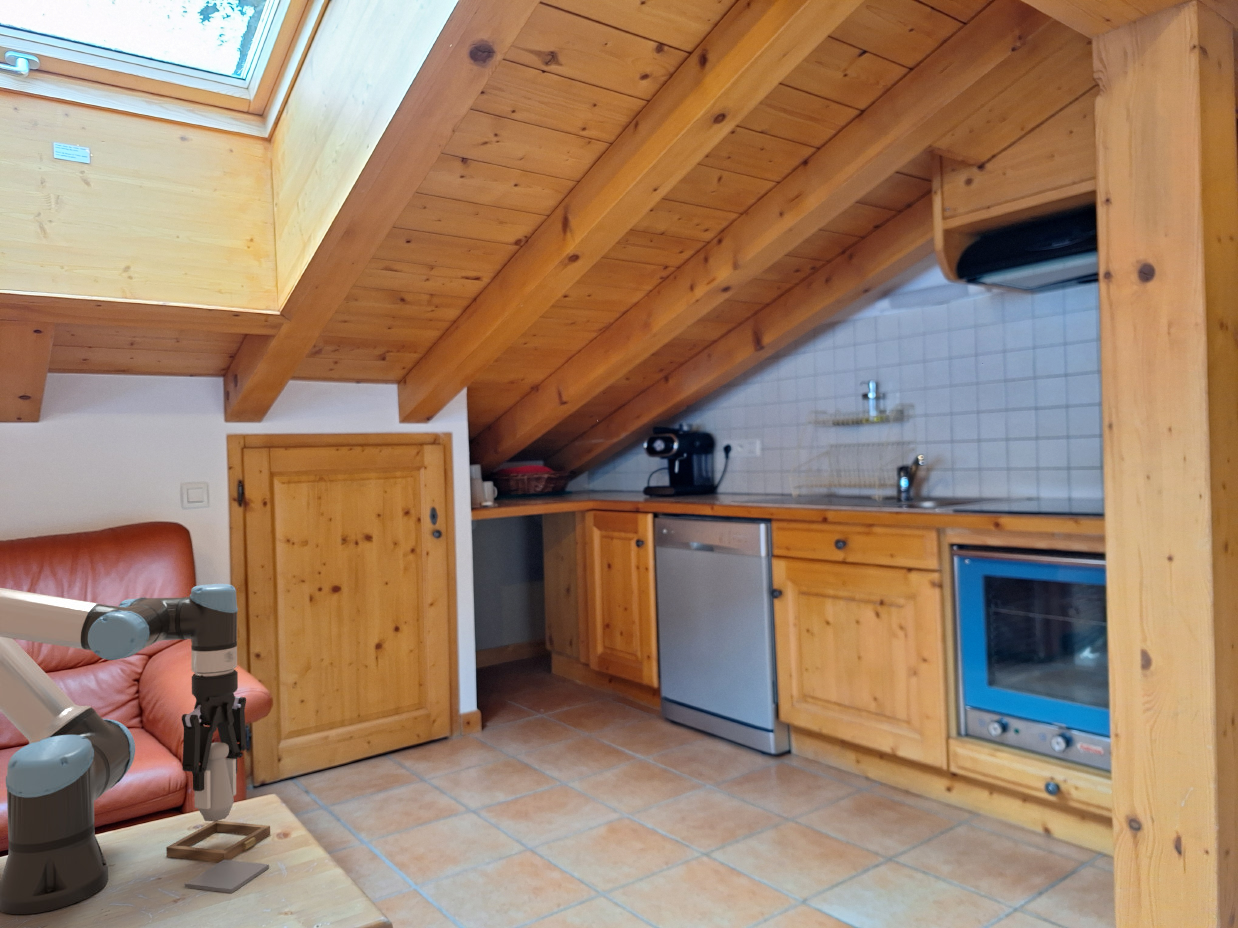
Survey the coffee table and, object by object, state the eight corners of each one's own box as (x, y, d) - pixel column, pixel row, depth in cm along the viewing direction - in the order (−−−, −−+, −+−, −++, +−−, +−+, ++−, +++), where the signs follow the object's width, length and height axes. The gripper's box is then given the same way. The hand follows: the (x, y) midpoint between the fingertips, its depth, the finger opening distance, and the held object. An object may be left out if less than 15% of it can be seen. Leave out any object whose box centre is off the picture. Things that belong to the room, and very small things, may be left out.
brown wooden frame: (166, 856, 154) (166, 847, 154) (215, 828, 165) (215, 820, 165) (227, 862, 150) (226, 853, 150) (273, 834, 162) (272, 825, 162)
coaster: (184, 887, 142) (184, 883, 142) (224, 862, 151) (224, 859, 151) (231, 892, 139) (231, 888, 139) (268, 867, 148) (268, 864, 148)
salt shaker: (220, 824, 155) (220, 749, 155) (191, 822, 156) (190, 748, 156) (240, 811, 160) (239, 739, 160) (211, 809, 161) (211, 738, 161)
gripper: (193, 684, 148) (194, 823, 148) (267, 661, 166) (268, 784, 166) (156, 682, 150) (157, 818, 150) (233, 659, 168) (234, 781, 168)
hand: (215, 800), depth 158 cm, fingers closed on salt shaker, 6 cm apart
